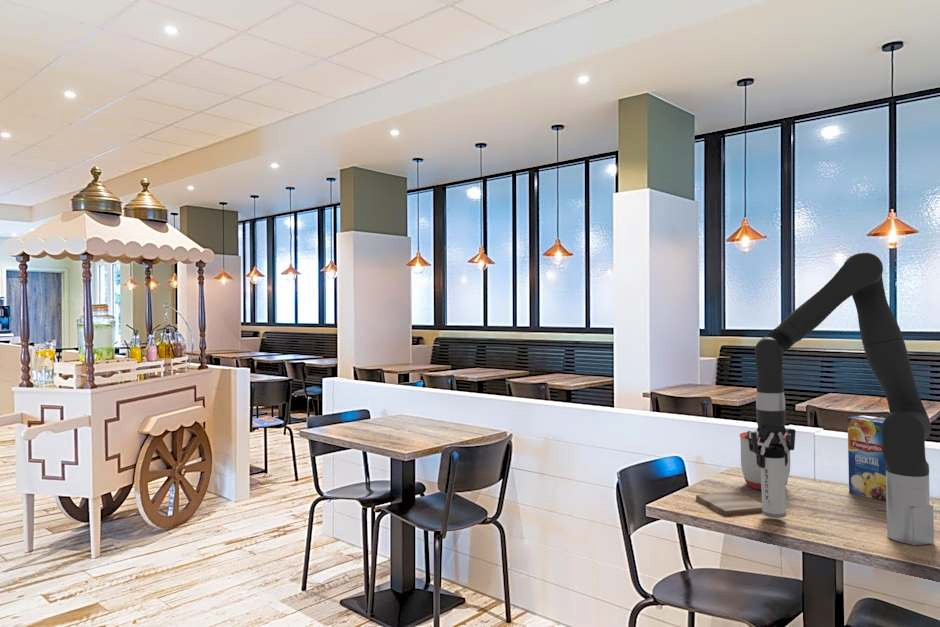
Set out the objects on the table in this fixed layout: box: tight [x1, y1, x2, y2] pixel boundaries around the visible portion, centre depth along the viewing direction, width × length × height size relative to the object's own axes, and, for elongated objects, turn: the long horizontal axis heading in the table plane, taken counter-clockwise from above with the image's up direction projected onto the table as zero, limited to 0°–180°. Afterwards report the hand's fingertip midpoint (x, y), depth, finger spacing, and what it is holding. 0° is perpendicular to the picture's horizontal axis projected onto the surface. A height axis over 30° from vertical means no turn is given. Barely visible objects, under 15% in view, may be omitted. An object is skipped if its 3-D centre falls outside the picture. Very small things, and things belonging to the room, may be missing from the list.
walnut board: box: [695, 490, 762, 517], centre depth 196 cm, size 16×14×2 cm
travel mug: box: [760, 443, 787, 519], centre depth 183 cm, size 6×7×20 cm
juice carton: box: [847, 414, 886, 503], centre depth 202 cm, size 12×8×24 cm, turn 26°
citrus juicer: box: [739, 431, 791, 490], centre depth 214 cm, size 16×17×20 cm
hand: (772, 466), depth 183 cm, fingers closed on travel mug, 6 cm apart
